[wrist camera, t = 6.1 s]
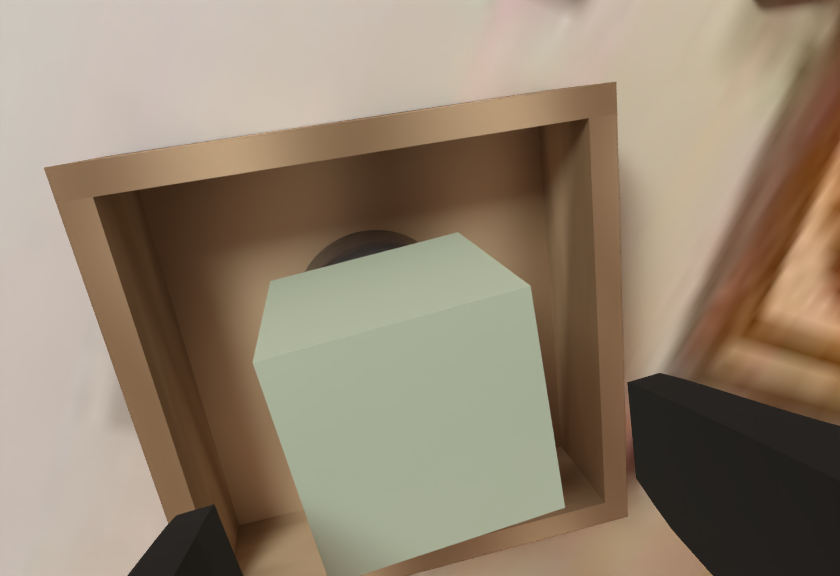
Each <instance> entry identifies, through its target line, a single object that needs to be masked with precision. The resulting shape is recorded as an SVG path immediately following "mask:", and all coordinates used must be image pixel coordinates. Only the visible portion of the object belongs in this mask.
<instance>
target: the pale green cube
mask: <svg viewBox="0 0 840 576" xmlns="http://www.w3.org/2000/svg"><path fill="white" fill-rule="evenodd" d="M253 365H254V368H255V371H256V374H257V377H258V380H259V383H260V385H261V388H262V391H263V394H264V397H265V400H266V403H267V405H268V408H269V411H270V414H271V417H272V420H273V423H274V425H275V428H276V431H277V434H278V437H279V440H280V443H281V445H282V448H283V451H284V454H285V457H286V460H287V463H288V465H289V468H290V471H291V474H292V477H293V480H294V483H295V485H296V488H297V491H298V494H299V497H300V500H301V503H302V506H303V508H304V511H305V514H306V517H307V520H308V523H309V526H310V528H311V531H312V534H313V537H314V540H315V543H316V546H317V548H318V551H319V554H320V557H321V560H322V563H323V566H324V568H325V571H326V574H327V576H360V575H363V574H366V573H369V572H372V571H375V570H378V569H381V568H384V567H387V566H390V565H393V564H396V563H399V562H402V561H405V560H408V559H411V558H414V557H417V556H420V555H423V554H426V553H429V552H432V551H435V550H438V549H441V548H444V547H447V546H450V545H454V544H457V543H460V542H463V541H466V540H469V539H472V538H475V537H478V536H481V535H484V534H487V533H490V532H493V531H496V530H499V529H502V528H505V527H508V526H511V525H514V524H517V523H520V522H523V521H526V520H529V519H532V518H535V517H538V516H541V515H544V514H547V513H550V512H553V511H556V510H559V509H562V508H565V504H564V497H563V491H562V484H561V478H560V471H559V465H558V459H557V452H556V446H555V439H554V433H553V427H552V420H551V414H550V407H549V401H548V395H547V388H546V382H545V375H544V369H543V362H542V356H541V350H540V343H539V337H538V330H537V324H536V318H535V311H534V305H533V298H532V292H531V286H530V285H529V284H527V283H526V282H525V281H523V280H522V279H521V278H519V277H518V276H517V275H515V274H514V273H513V272H511V271H510V270H509V269H507V268H506V267H504V266H503V265H502V264H500V263H499V262H498V261H496V260H495V259H494V258H492V257H491V256H490V255H488V254H487V253H486V252H484V251H483V250H482V249H480V248H479V247H477V246H476V245H475V244H473V243H472V242H471V241H469V240H468V239H467V238H465V237H464V236H463V235H461V234H460V233H459V232H457V233H453V234H449V235H445V236H442V237H438V238H434V239H430V240H426V241H422V242H419V243H415V244H411V245H407V246H403V247H399V248H395V249H392V250H388V251H384V252H380V253H376V254H372V255H369V256H365V257H361V258H357V259H353V260H349V261H345V262H342V263H338V264H334V265H330V266H326V267H322V268H319V269H315V270H311V271H307V272H303V273H299V274H295V275H292V276H288V277H284V278H280V279H276V280H272V281H270V285H269V289H268V294H267V299H266V303H265V308H264V312H263V317H262V322H261V326H260V331H259V335H258V340H257V345H256V349H255V354H254V359H253Z"/></svg>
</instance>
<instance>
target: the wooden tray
mask: <svg viewBox="0 0 840 576" xmlns="http://www.w3.org/2000/svg"><path fill="white" fill-rule="evenodd" d="M44 170H45V173H46V175H47V178H48V181H49V184H50V187H51V190H52V193H53V195H54V198H55V201H56V204H57V207H58V210H59V213H60V215H61V218H62V221H63V224H64V227H65V230H66V233H67V235H68V238H69V241H70V244H71V247H72V250H73V253H74V255H75V258H76V261H77V264H78V267H79V270H80V273H81V275H82V278H83V281H84V284H85V287H86V290H87V293H88V295H89V298H90V301H91V304H92V307H93V310H94V312H95V315H96V318H97V321H98V324H99V327H100V330H101V332H102V335H103V338H104V341H105V344H106V347H107V350H108V352H109V355H110V358H111V361H112V364H113V367H114V370H115V372H116V375H117V378H118V381H119V384H120V387H121V390H122V392H123V395H124V398H125V401H126V404H127V407H128V410H129V412H130V415H131V418H132V421H133V424H134V427H135V430H136V432H137V435H138V438H139V441H140V444H141V447H142V450H143V452H144V455H145V458H146V461H147V464H148V467H149V470H150V472H151V475H152V478H153V481H154V484H155V487H156V490H157V492H158V495H159V498H160V501H161V504H162V507H163V510H164V512H165V515H166V518H167V521H168V524H169V523H170V522H171V521H172V519H173V518H174V517H175V516H176V515H179V514H182V513H186V512H189V511H192V510H196V509H199V508H203V507H206V506H209V505H213V504H215V507H216V509H217V512H218V514H219V517H220V519H221V522H222V524H223V527H224V529H225V532H226V534H227V537H228V539H229V542H230V544H231V547H232V549H233V552H234V554H235V557H236V559H237V562H238V564H239V567H240V569H241V572H242V574H243V576H327V574H326V571H325V568H324V566H323V563H322V560H321V557H320V554H319V551H318V548H317V546H316V543H315V540H314V537H313V534H312V531H311V528H310V526H309V523H308V520H307V517H306V514H305V511H304V508H303V506H302V503H301V500H300V497H299V494H298V491H297V488H296V485H295V483H294V480H293V477H292V474H291V471H290V468H289V465H288V463H287V460H286V457H285V454H284V451H283V448H282V445H281V443H280V440H279V437H278V434H277V431H276V428H275V425H274V423H273V420H272V417H271V414H270V411H269V408H268V405H267V403H266V400H265V397H264V394H263V391H262V388H261V385H260V383H259V380H258V377H257V374H256V371H255V368H254V365H253V359H254V354H255V349H256V345H257V340H258V335H259V331H260V326H261V322H262V317H263V312H264V308H265V303H266V299H267V294H268V289H269V285H270V281H272V280H276V279H280V278H284V277H288V276H292V275H295V274H299V273H303V272H305V270H306V269H307V267H308V265H309V264H310V263H311V261H312V260H313V259H314V258H315V256H316V255H317V254H318V253H320V252H321V251H322V250H323V249H324V248H325V247H327V246H328V245H329V244H331V243H332V242H334V241H336V240H338V239H339V238H341V237H344V236H346V235H349V234H351V233H355V232H360V231H366V230H387V231H393V232H397V233H400V234H404V235H406V236H408V237H410V238H413V239H414V240H416V241H418V242H422V241H426V240H430V239H434V238H438V237H442V236H445V235H449V234H453V233H457V232H459V233H460V234H461V235H463V236H464V237H465V238H467V239H468V240H469V241H471V242H472V243H473V244H475V245H476V246H477V247H479V248H480V249H482V250H483V251H484V252H486V253H487V254H488V255H490V256H491V257H492V258H494V259H495V260H496V261H498V262H499V263H500V264H502V265H503V266H504V267H506V268H507V269H509V270H510V271H511V272H513V273H514V274H515V275H517V276H518V277H519V278H521V279H522V280H523V281H525V282H526V283H527V284H529V285H530V286H531V292H532V298H533V305H534V311H535V318H536V324H537V330H538V337H539V343H540V350H541V356H542V362H543V369H544V375H545V382H546V388H547V395H548V401H549V407H550V414H551V420H552V427H553V433H554V439H555V446H556V452H557V459H558V465H559V471H560V478H561V484H562V491H563V497H564V504H565V508H562V509H559V510H556V511H553V512H550V513H547V514H544V515H541V516H538V517H535V518H532V519H529V520H526V521H523V522H520V523H517V524H514V525H511V526H508V527H505V528H502V529H499V530H496V531H493V532H490V533H487V534H484V535H481V536H478V537H475V538H472V539H469V540H466V541H463V542H460V543H457V544H454V545H450V546H447V547H444V548H441V549H438V550H435V551H432V552H429V553H426V554H423V555H420V556H417V557H414V558H411V559H408V560H405V561H402V562H399V563H396V564H393V565H390V566H387V567H384V568H381V569H378V570H375V571H372V572H369V573H366V574H363V575H360V576H408V575H411V574H415V573H419V572H423V571H426V570H430V569H434V568H438V567H441V566H445V565H449V564H452V563H456V562H460V561H464V560H467V559H471V558H475V557H478V556H482V555H486V554H490V553H493V552H497V551H501V550H504V549H508V548H512V547H516V546H519V545H523V544H527V543H531V542H534V541H538V540H542V539H545V538H549V537H553V536H557V535H560V534H564V533H568V532H571V531H575V530H579V529H583V528H586V527H590V526H594V525H597V524H601V523H605V522H609V521H612V520H616V519H620V518H624V517H627V516H628V513H627V475H626V437H625V399H624V360H623V322H622V284H621V246H620V207H619V169H618V131H617V93H616V82H611V83H603V84H594V85H586V86H578V87H570V88H561V89H553V90H546V91H540V92H533V93H526V94H520V95H513V96H506V97H500V98H493V99H486V100H480V101H473V102H466V103H460V104H453V105H446V106H440V107H433V108H426V109H420V110H413V111H406V112H399V113H393V114H386V115H379V116H373V117H366V118H359V119H353V120H346V121H339V122H333V123H326V124H319V125H313V126H306V127H299V128H293V129H286V130H279V131H273V132H266V133H259V134H253V135H246V136H239V137H233V138H226V139H219V140H213V141H206V142H199V143H193V144H186V145H179V146H173V147H166V148H159V149H153V150H146V151H139V152H132V153H126V154H119V155H112V156H106V157H100V158H95V159H89V160H84V161H78V162H73V163H68V164H62V165H57V166H51V167H46V168H44Z"/></svg>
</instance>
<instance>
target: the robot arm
mask: <svg viewBox="0 0 840 576" xmlns="http://www.w3.org/2000/svg"><path fill="white" fill-rule="evenodd" d="M627 383H628V393H629V404H630V415H631V426H632V437H633V448H634V459H635V470H636V478H637V480H638V481H639V483H640V484H641V486H642V487H643V489H644V490H645V492H646V493H647V495H648V496H649V498H650V499H651V501H652V502H653V504H654V505H655V507H656V508H657V509H658V511H659V512H660V513H661V515H662V516H663V518H664V519H665V520H666V522H667V523H668V525H669V526H670V527H671V529H672V530H673V531H674V532H675V533H676V534H677V536H678V537H679V538H680V539H681V540H682V541H683V542H684V544H685V545H686V546H687V547H688V548H689V549H690V550H691V551H692V553H693V554H694V555H695V556H696V557H697V558H698V559H699V561H700V562H701V563H702V564H703V565H704V566H705V567H706V568H707V570H708V571H709V572H710V573H711V574H712V575H713V576H840V426H838V425H834V424H830V423H827V422H823V421H820V420H816V419H813V418H809V417H806V416H802V415H799V414H795V413H792V412H789V411H785V410H782V409H779V408H775V407H772V406H769V405H766V404H762V403H759V402H756V401H753V400H750V399H746V398H743V397H740V396H737V395H734V394H730V393H727V392H724V391H721V390H718V389H715V388H711V387H708V386H705V385H702V384H698V383H695V382H692V381H688V380H685V379H681V378H678V377H674V376H670V375H665V374H661V373H658V374H655V375H651V376H648V377H644V378H641V379H638V380H634V381H631V382H627ZM128 576H243V574H242V572H241V569H240V567H239V564H238V562H237V559H236V557H235V554H234V552H233V549H232V547H231V544H230V542H229V539H228V537H227V534H226V532H225V529H224V527H223V524H222V522H221V519H220V517H219V514H218V512H217V509H216V507H215V504H213V505H209V506H206V507H203V508H199V509H196V510H192V511H189V512H186V513H182V514H179V515H176V516H175V517H174V518H173V519H172V521H171V522H170V523H169V524H168V525H167V526H166V528H165V529H164V530H163V531H162V532H161V534H160V535H159V536H158V537H157V539H156V540H155V541H154V542H153V544H152V545H151V546H150V548H149V549H148V550H147V551H146V553H145V554H144V555H143V556H142V558H141V559H140V560H139V562H138V563H137V564H136V565H135V567H134V568H133V569H132V571H131V572H130V573H129V574H128Z"/></svg>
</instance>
